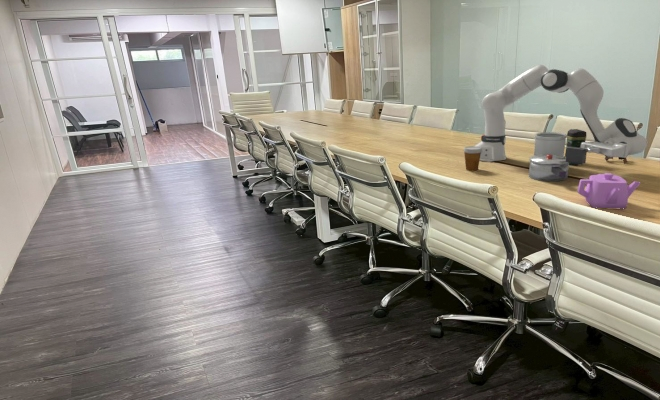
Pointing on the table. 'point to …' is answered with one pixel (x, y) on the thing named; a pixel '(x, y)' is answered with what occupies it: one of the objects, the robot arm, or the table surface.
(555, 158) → the lid
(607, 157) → the brown arched piece
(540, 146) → the utensil holder
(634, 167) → the table surface
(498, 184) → the table surface
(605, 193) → the teakettle
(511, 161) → the table surface
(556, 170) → the pot
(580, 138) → the coffee jar
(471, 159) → the disposable coffee cup
